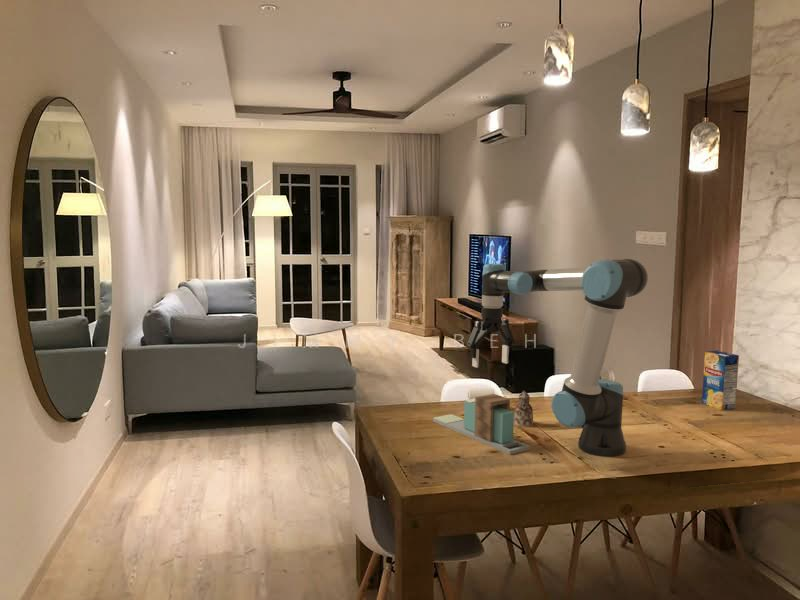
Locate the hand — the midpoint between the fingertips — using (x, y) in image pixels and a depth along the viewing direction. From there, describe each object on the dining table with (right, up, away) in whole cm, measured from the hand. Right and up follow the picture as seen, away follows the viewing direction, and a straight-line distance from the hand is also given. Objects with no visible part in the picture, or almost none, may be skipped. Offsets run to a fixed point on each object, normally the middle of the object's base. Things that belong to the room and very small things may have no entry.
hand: (490, 364), depth 241 cm
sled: (-2, -23, -11) cm, 26 cm away
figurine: (+13, -23, +6) cm, 27 cm away
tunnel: (-1, -23, -13) cm, 27 cm away
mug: (0, -20, +28) cm, 35 cm away
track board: (-5, -24, -7) cm, 25 cm away
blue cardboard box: (+98, -20, +32) cm, 105 cm away
